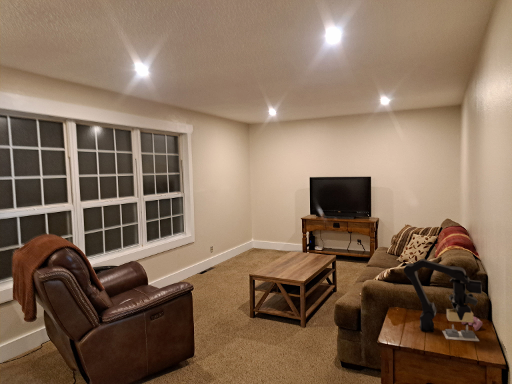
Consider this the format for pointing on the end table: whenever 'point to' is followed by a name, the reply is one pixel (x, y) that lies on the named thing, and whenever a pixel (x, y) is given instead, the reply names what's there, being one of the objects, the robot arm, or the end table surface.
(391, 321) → the end table surface
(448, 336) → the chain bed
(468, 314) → the gold cutout plate
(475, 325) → the video game controller
